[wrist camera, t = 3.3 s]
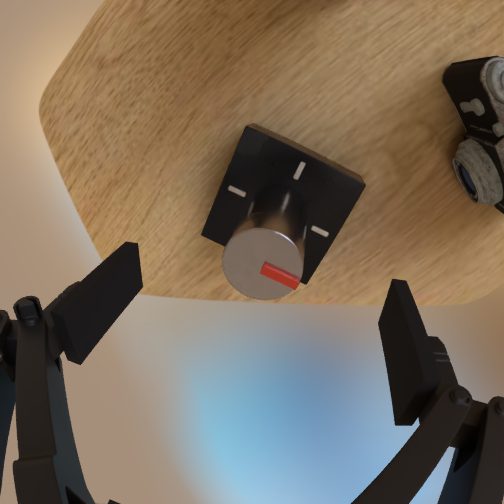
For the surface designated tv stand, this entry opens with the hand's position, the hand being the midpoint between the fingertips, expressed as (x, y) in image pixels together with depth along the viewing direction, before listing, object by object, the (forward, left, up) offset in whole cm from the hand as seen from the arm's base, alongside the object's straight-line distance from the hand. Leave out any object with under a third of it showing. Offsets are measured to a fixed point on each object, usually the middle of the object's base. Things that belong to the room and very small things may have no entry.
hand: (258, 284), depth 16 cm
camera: (+13, +13, -14) cm, 23 cm away
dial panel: (0, 0, -14) cm, 14 cm away
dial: (0, 0, -11) cm, 11 cm away
